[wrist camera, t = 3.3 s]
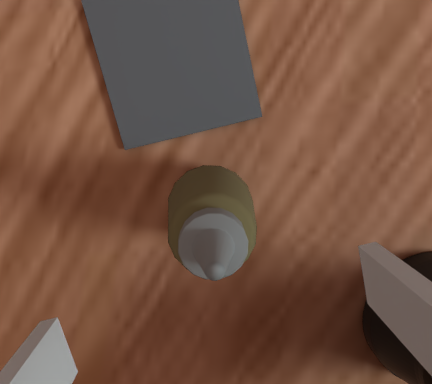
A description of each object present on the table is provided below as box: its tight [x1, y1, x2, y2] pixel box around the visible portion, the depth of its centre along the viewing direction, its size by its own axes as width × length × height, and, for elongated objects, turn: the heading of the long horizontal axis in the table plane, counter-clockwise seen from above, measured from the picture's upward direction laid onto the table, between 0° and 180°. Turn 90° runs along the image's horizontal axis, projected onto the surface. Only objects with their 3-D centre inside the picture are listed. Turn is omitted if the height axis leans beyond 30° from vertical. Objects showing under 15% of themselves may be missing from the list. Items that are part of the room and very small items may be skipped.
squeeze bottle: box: [168, 165, 257, 281], centre depth 28 cm, size 8×8×18 cm
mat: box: [81, 0, 262, 150], centre depth 34 cm, size 14×14×1 cm
